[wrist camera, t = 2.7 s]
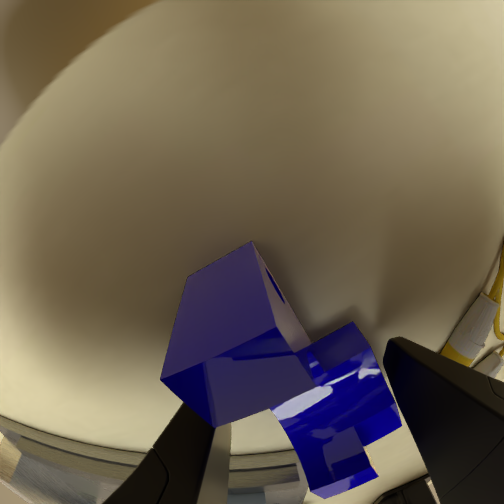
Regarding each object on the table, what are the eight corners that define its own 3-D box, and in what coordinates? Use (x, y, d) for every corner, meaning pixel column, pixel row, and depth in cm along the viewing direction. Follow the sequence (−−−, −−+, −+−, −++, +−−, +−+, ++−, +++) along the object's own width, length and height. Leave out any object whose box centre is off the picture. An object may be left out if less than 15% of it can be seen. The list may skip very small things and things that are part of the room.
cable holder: (377, 383, 10) (418, 454, 6) (302, 421, 10) (324, 498, 6) (301, 212, 7) (373, 270, 4) (188, 276, 8) (160, 379, 4)
